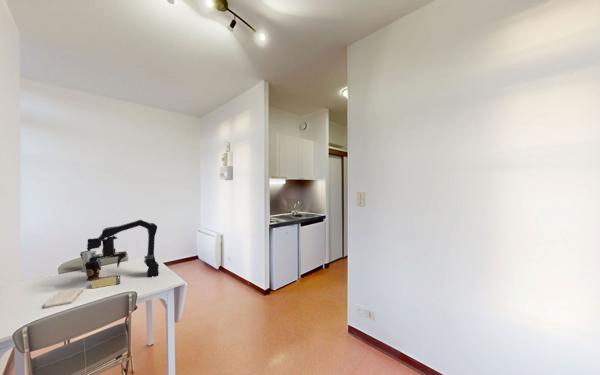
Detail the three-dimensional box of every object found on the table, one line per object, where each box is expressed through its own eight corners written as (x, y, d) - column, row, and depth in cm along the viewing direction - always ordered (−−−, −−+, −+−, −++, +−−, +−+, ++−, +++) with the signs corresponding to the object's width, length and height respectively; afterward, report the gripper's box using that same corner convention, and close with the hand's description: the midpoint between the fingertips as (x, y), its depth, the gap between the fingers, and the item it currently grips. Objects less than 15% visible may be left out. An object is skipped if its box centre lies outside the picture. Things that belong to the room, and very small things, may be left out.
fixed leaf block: (117, 281, 156) (117, 274, 156) (115, 283, 153) (115, 276, 153) (94, 285, 151) (94, 278, 151) (92, 287, 147) (92, 280, 147)
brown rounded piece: (90, 282, 155) (90, 264, 155) (81, 281, 157) (81, 263, 156) (104, 277, 164) (103, 259, 163) (95, 275, 165) (94, 258, 165)
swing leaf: (120, 282, 155) (120, 274, 155) (120, 283, 152) (120, 276, 152) (92, 287, 147) (92, 279, 147) (91, 288, 145) (91, 280, 145)
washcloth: (84, 290, 144) (84, 286, 144) (72, 304, 128) (72, 299, 128) (58, 295, 138) (58, 290, 138) (43, 309, 123) (43, 304, 123)
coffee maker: (101, 268, 179) (101, 246, 178) (88, 273, 170) (88, 250, 170) (87, 267, 182) (87, 245, 182) (74, 271, 173) (74, 248, 173)
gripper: (127, 241, 161) (128, 262, 162) (93, 245, 152) (94, 267, 153) (124, 245, 152) (125, 267, 153) (88, 249, 142) (89, 273, 143)
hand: (109, 268), depth 150 cm, fingers open, 9 cm apart
